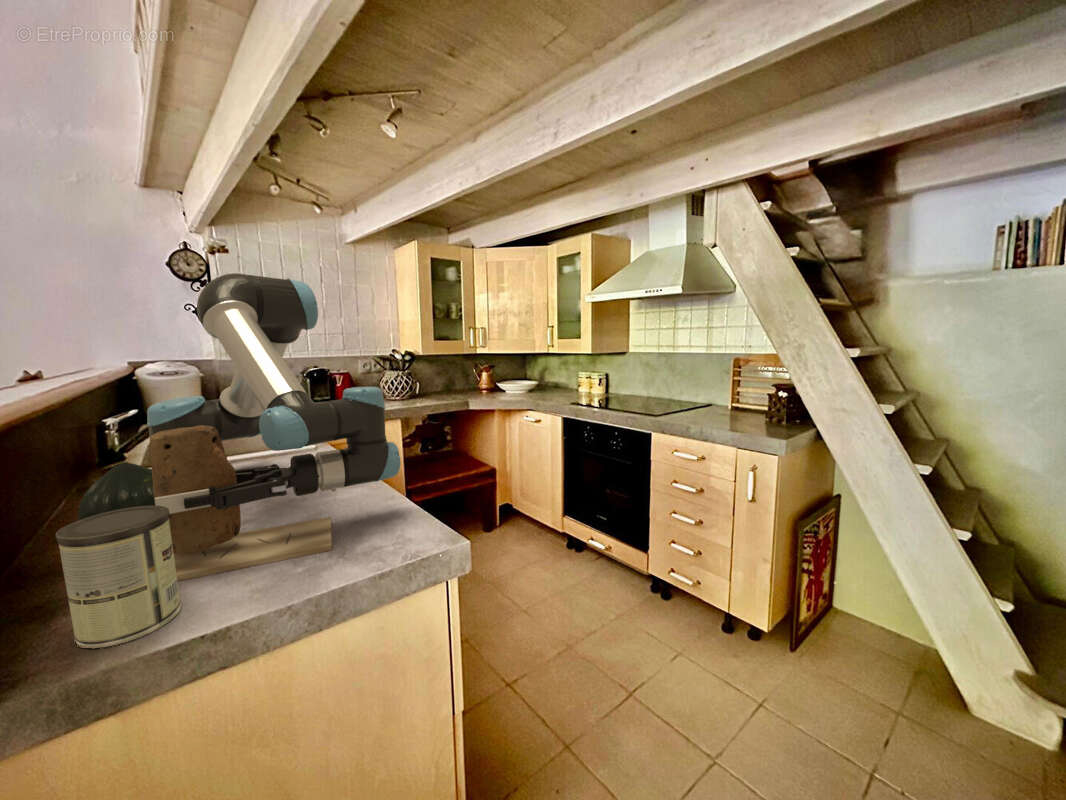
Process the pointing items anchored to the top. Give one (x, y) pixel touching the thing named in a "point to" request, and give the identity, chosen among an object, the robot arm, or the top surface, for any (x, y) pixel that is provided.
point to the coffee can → (119, 574)
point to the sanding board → (257, 548)
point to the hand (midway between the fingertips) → (159, 498)
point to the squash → (119, 490)
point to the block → (194, 485)
